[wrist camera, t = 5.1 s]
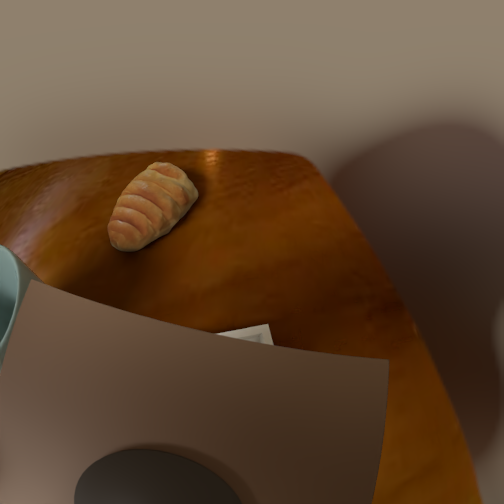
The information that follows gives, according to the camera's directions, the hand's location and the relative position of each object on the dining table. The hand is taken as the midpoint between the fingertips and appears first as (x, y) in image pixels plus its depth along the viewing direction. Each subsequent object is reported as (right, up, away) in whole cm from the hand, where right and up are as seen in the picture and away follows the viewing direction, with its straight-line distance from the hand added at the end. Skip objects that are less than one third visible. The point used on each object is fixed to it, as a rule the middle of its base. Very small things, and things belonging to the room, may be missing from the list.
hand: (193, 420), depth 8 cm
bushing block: (-1, -4, +5) cm, 7 cm away
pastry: (-8, +9, +20) cm, 23 cm away
